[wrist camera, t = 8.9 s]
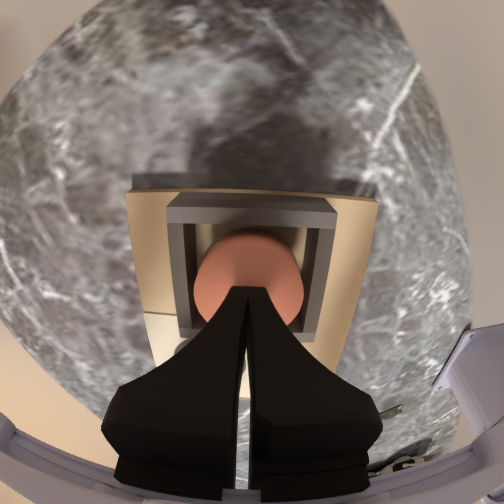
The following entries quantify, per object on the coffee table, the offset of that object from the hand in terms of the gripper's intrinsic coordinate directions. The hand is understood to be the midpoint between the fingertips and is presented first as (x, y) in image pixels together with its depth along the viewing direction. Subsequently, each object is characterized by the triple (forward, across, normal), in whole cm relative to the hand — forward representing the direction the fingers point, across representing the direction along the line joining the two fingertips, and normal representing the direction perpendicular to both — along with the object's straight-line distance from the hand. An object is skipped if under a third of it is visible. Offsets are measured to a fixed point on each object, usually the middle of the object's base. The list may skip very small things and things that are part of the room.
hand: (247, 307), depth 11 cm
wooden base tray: (+5, 0, +4) cm, 7 cm away
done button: (+3, 0, 0) cm, 3 cm away
